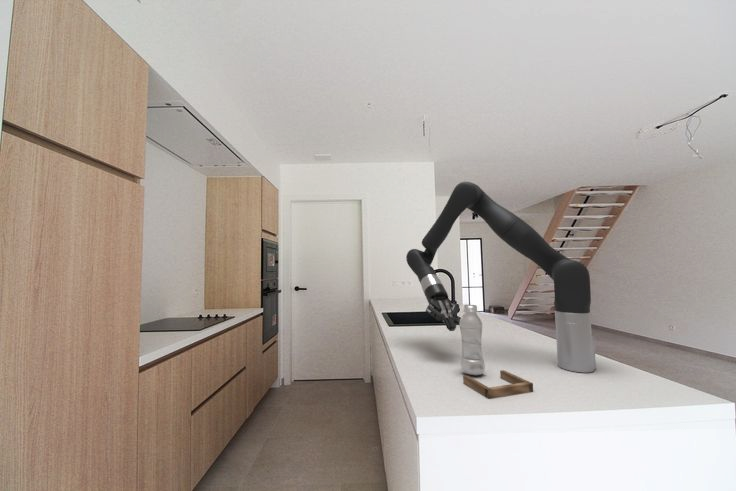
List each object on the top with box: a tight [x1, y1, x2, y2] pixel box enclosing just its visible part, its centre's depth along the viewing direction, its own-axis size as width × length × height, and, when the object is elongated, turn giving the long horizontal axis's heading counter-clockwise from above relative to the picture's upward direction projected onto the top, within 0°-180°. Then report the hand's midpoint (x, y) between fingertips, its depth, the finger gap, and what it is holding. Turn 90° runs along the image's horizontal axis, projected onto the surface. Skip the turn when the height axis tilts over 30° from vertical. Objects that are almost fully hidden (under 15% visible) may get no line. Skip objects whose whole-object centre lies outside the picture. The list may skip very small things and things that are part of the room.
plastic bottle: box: [458, 304, 486, 376], centre depth 89 cm, size 6×7×20 cm
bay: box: [462, 370, 534, 399], centre depth 78 cm, size 13×10×2 cm
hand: (453, 329), depth 98 cm, fingers closed
